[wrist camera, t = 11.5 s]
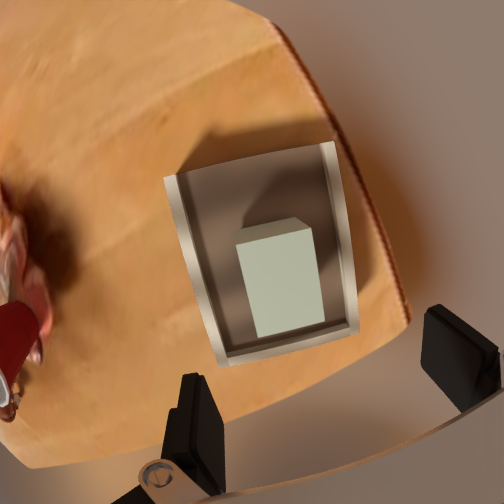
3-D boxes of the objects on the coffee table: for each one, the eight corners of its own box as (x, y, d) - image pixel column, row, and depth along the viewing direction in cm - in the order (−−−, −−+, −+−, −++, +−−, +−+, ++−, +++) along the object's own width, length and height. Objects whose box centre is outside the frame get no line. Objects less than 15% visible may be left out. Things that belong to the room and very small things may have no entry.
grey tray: (174, 176, 28) (163, 177, 23) (316, 145, 28) (333, 141, 23) (220, 341, 32) (219, 368, 28) (343, 311, 33) (359, 332, 28)
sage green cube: (232, 228, 25) (234, 245, 20) (293, 214, 25) (312, 227, 20) (250, 304, 27) (256, 338, 21) (306, 290, 27) (326, 320, 21)
